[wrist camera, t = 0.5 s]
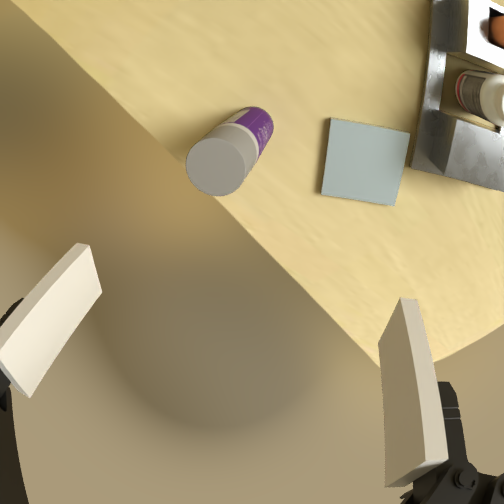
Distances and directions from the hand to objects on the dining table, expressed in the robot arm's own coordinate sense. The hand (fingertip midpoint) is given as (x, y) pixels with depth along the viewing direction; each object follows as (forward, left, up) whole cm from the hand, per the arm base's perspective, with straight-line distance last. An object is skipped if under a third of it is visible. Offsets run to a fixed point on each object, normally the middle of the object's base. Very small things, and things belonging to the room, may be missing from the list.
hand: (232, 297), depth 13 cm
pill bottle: (-10, +21, -27) cm, 35 cm away
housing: (-10, +21, -27) cm, 35 cm away
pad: (+2, +9, -27) cm, 28 cm away
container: (-1, -4, -27) cm, 27 cm away
